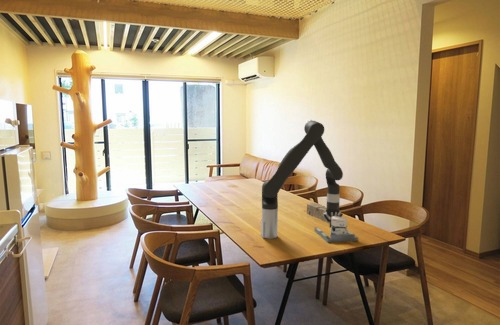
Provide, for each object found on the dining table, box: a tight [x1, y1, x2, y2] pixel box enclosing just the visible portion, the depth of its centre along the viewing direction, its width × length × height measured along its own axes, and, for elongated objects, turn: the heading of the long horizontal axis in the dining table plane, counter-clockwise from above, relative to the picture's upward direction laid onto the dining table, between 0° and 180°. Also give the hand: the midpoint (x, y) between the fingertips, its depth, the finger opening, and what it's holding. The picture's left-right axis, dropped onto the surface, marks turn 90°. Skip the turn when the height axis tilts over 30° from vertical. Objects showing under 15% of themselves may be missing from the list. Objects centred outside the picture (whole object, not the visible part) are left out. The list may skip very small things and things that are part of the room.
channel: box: [313, 226, 359, 243], centre depth 199 cm, size 18×21×4 cm
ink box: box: [330, 216, 348, 236], centre depth 196 cm, size 8×5×12 cm, turn 67°
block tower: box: [306, 201, 338, 224], centre depth 236 cm, size 8×8×29 cm
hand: (332, 228), depth 205 cm, fingers closed
